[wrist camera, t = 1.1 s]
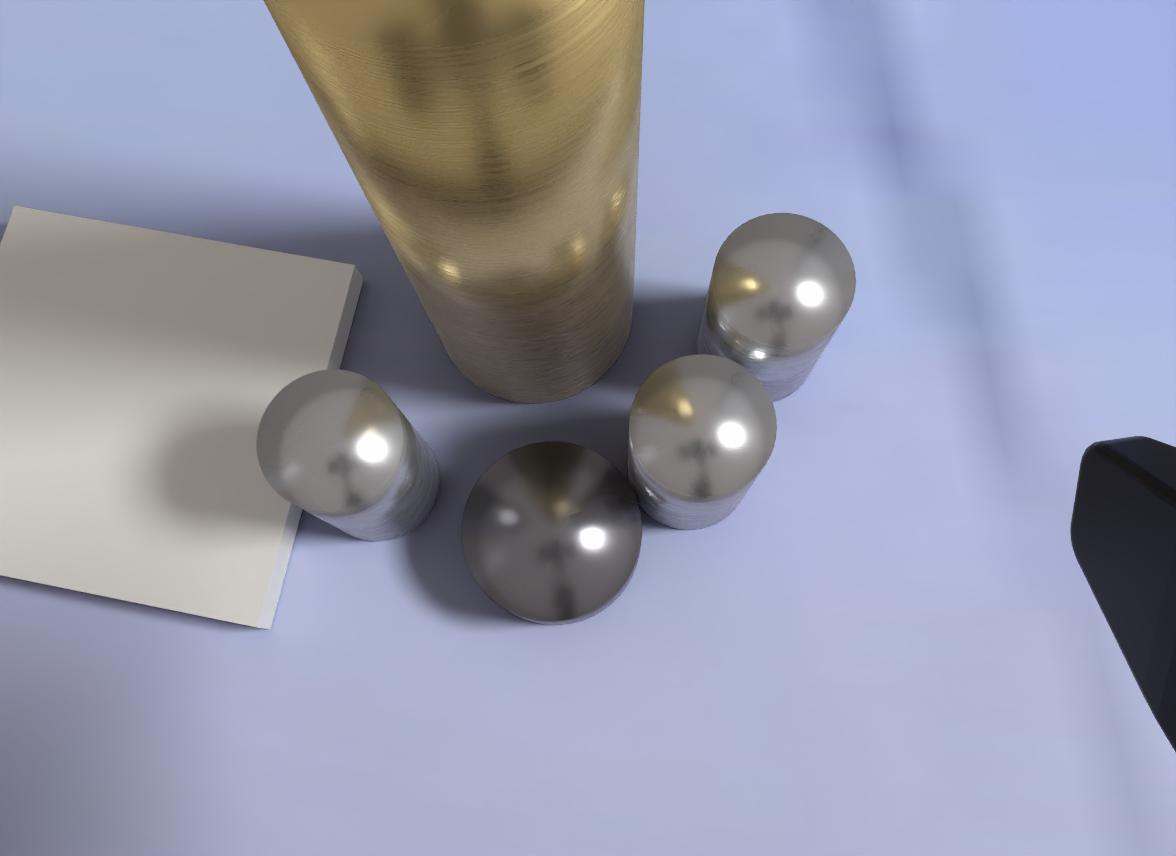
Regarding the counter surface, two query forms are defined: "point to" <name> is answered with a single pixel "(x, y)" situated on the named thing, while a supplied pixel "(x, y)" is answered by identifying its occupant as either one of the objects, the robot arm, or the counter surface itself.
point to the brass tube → (494, 168)
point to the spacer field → (571, 472)
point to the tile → (153, 408)
